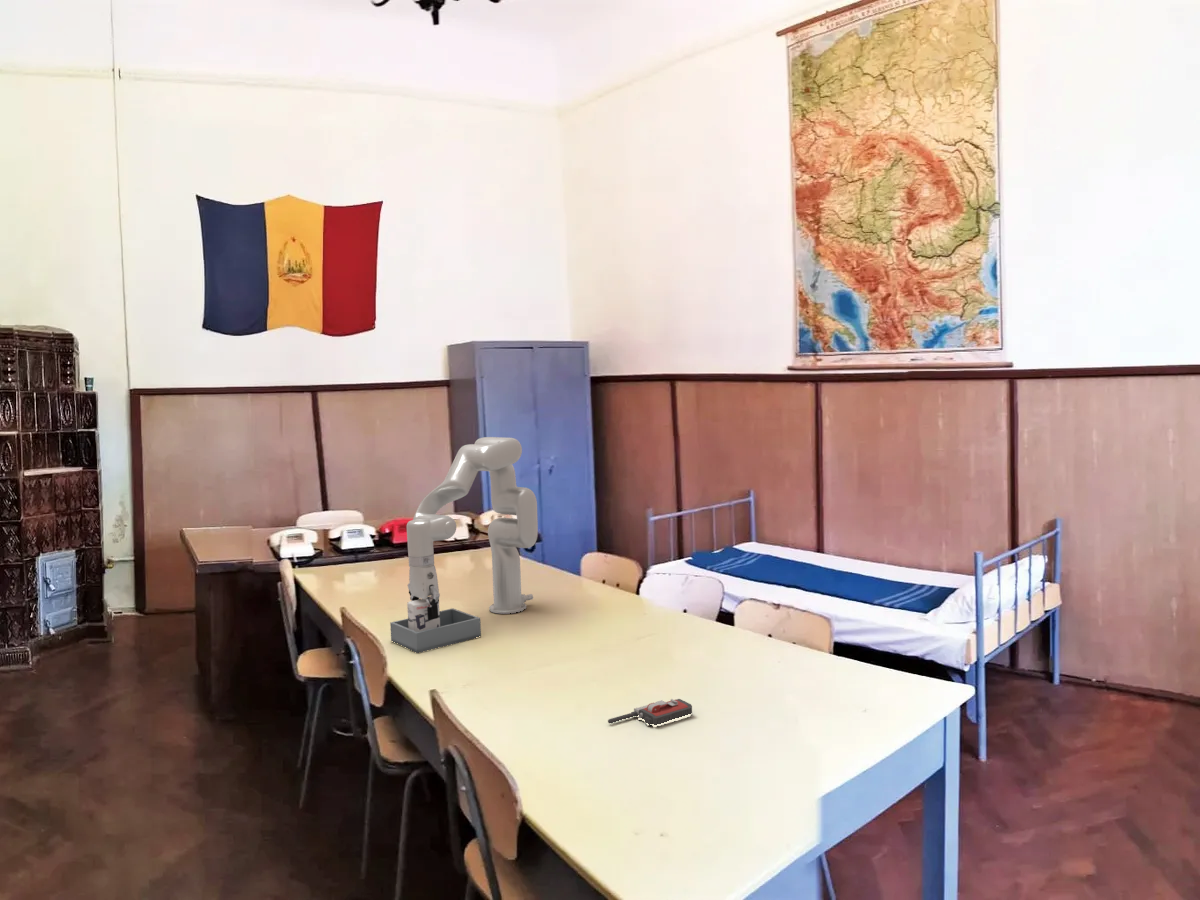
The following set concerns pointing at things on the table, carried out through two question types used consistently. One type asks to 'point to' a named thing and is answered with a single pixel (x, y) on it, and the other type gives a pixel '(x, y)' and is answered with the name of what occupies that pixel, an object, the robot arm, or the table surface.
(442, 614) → the tote
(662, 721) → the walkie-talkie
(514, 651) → the table surface
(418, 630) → the ink box
